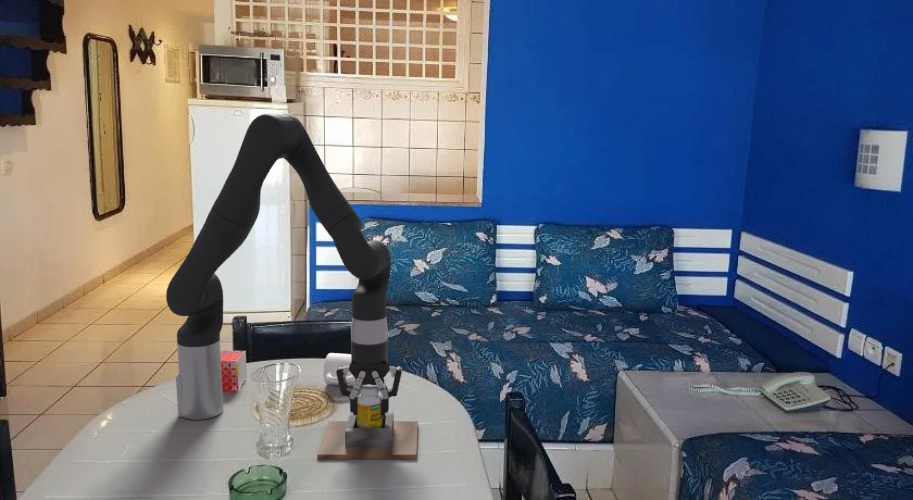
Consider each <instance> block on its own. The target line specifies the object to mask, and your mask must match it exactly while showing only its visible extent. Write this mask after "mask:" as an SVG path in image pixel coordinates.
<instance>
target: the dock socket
mask: <svg viewBox="0 0 913 500" xmlns="http://www.w3.org/2000/svg"><path fill="white" fill-rule="evenodd" d="M394 415H395V413H394V412H388V413H385V415H382V428H357V415H353V413H351V411H349V415H348V419H347V420H335V421H334V420H328V421H327V424H326V427H325V430H324V432H323V437H322V439H321V441H320V445H319V448H318V451H317V454H316V460H417V455H418V454H417V451H418V429H419V428H418V426H419V422H418V421H416V420H415V421H411V420H410V421H409V420H406V421H405V420H404V421H403V420H401V421H400V420H399V421H398V420H394V419H395V418H394Z"/></svg>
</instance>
